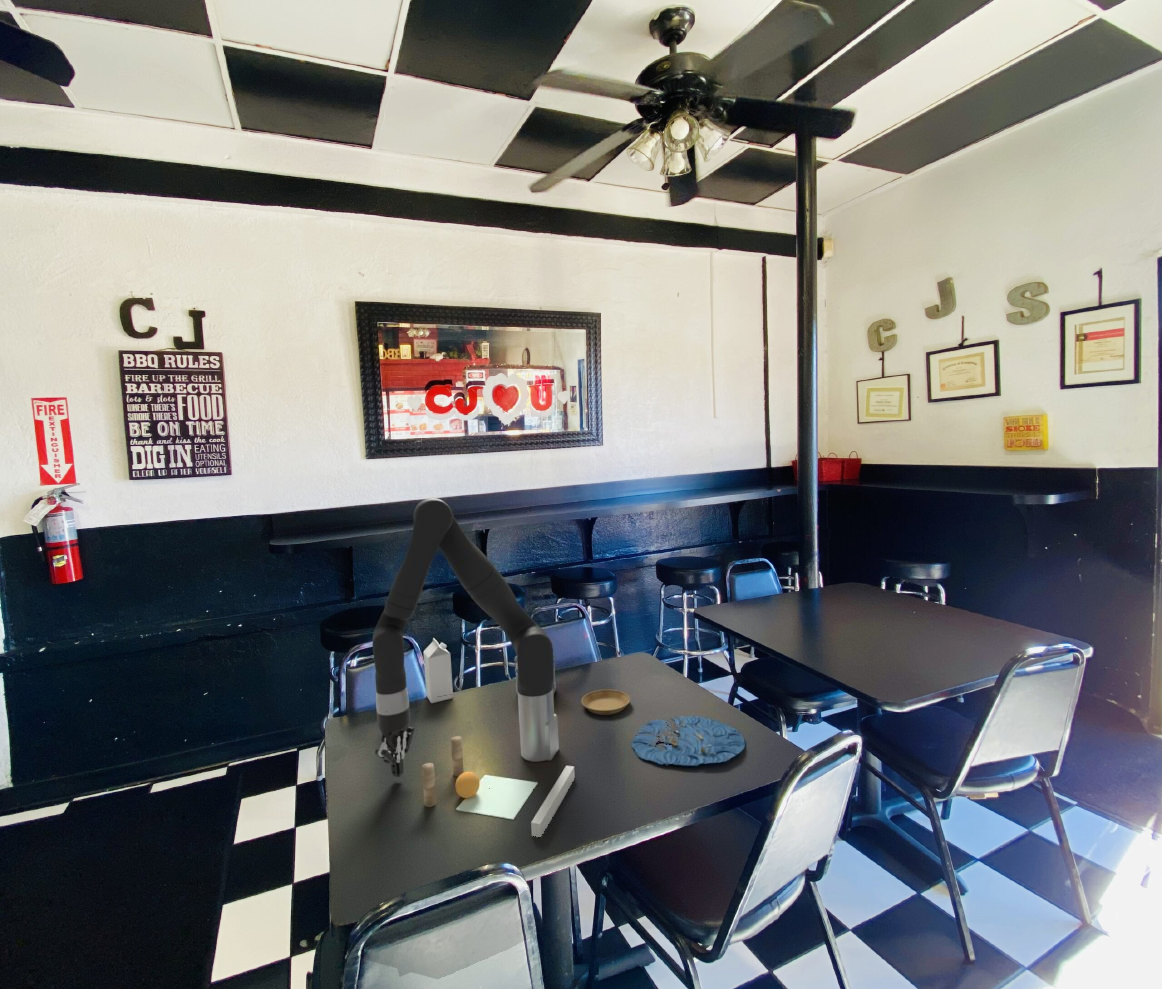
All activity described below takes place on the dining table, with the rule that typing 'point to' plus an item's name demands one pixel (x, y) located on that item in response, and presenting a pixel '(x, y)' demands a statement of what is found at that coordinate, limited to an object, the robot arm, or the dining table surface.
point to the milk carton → (438, 672)
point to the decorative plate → (690, 742)
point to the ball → (467, 784)
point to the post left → (429, 784)
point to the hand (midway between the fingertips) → (398, 774)
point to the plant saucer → (605, 701)
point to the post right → (457, 755)
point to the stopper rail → (552, 802)
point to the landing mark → (498, 797)
